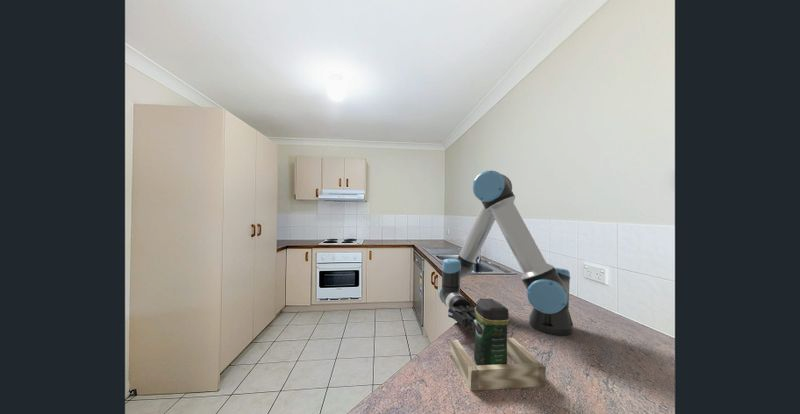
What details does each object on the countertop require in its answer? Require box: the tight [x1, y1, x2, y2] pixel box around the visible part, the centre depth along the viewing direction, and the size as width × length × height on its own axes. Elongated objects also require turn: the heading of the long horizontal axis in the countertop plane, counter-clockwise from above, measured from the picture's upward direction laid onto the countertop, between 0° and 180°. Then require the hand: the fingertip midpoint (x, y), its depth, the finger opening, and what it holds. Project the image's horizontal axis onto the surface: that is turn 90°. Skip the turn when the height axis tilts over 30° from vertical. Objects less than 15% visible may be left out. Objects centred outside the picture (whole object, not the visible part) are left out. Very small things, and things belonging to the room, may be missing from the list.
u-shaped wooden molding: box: [449, 337, 547, 392], centre depth 80 cm, size 20×16×5 cm
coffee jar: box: [473, 298, 510, 366], centre depth 82 cm, size 10×8×19 cm
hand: (484, 332), depth 86 cm, fingers closed
